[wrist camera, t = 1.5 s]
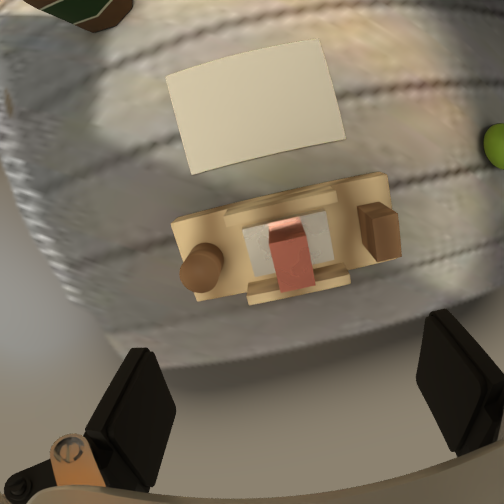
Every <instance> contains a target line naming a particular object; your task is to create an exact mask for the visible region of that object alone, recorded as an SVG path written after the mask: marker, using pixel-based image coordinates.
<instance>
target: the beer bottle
mask: <svg viewBox="0 0 504 504" xmlns="http://www.w3.org/2000/svg"><path fill="white" fill-rule="evenodd" d="M23 1H25V2H26V3H28V4H30V5H31V6H33V7H35V8H37V9H39V10H41V11H44V12H46V13H49V14H51V15H53V16H56V17H58V18H60V19H63V20H65V21H67V22H69V23H72V24H74V25H76V26H78V27H80V28H83V29H85V30H87V31H90V32H97V31H100V30H103V29H107V28H110V27H114V26H116V25H117V24H118V23H119V22H120V21H121V19H122V18H123V17H124V16H125V15H126V14H127V13H128V12H129V11H130V10H131V9H132V1H133V0H23Z"/></svg>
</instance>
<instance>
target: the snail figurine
mask: <svg viewBox="0 0 504 504" xmlns="http://www.w3.org/2000/svg"><path fill="white" fill-rule="evenodd" d="M484 150H485V153H486V156H487V158H488V159H489V161H490V162H491V163H492V164H493V165H494V166H496V167H497V168H500V169H503V170H504V124H503V123H499V124H495V125H493V126H491V127H490V128H489V129H488V130H487V132H486V134H485V137H484Z"/></svg>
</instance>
